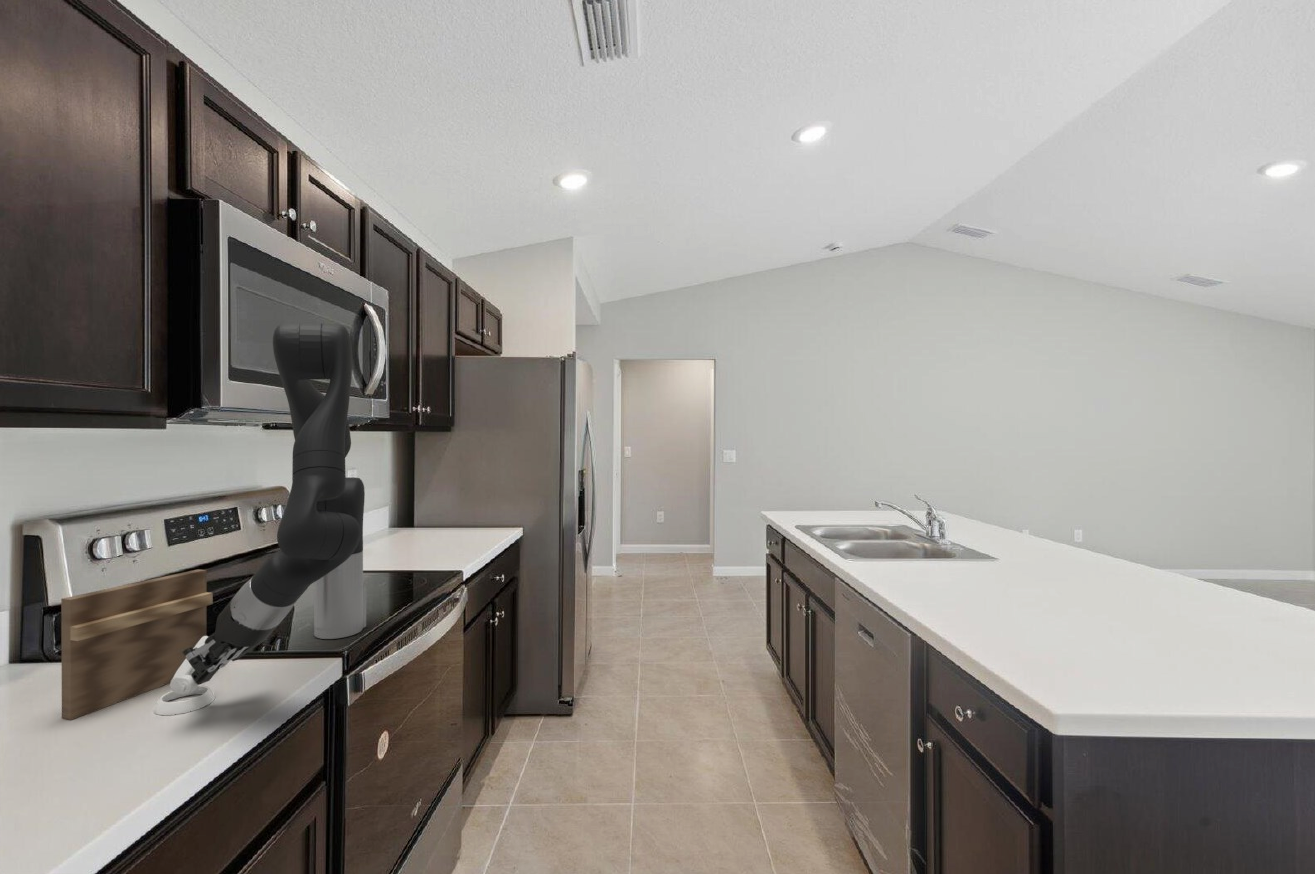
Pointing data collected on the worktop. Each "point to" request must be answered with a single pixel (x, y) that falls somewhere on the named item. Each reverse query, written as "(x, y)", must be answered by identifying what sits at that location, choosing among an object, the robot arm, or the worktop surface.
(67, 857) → the worktop surface
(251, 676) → the worktop surface
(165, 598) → the wall board
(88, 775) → the worktop surface
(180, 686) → the white lever switch
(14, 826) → the worktop surface
